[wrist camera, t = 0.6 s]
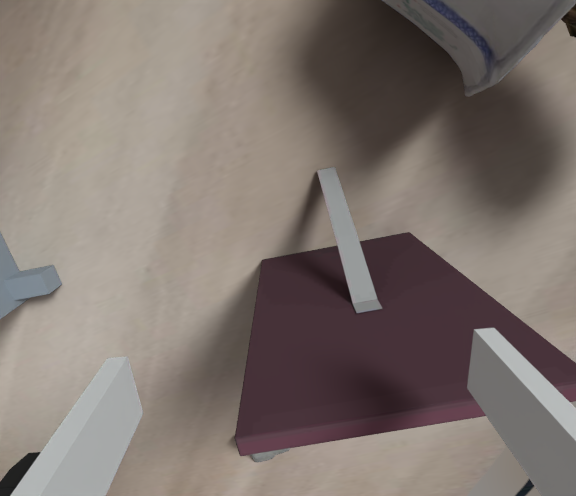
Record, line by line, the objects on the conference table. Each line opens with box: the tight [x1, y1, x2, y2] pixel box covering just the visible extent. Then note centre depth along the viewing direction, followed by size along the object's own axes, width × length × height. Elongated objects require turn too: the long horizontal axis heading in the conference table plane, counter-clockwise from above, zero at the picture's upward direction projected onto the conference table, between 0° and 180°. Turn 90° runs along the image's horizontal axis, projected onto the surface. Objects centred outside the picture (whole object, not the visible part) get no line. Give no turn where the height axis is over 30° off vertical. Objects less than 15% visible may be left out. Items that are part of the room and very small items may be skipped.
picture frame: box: [235, 167, 576, 456], centre depth 27 cm, size 17×10×25 cm, turn 101°
